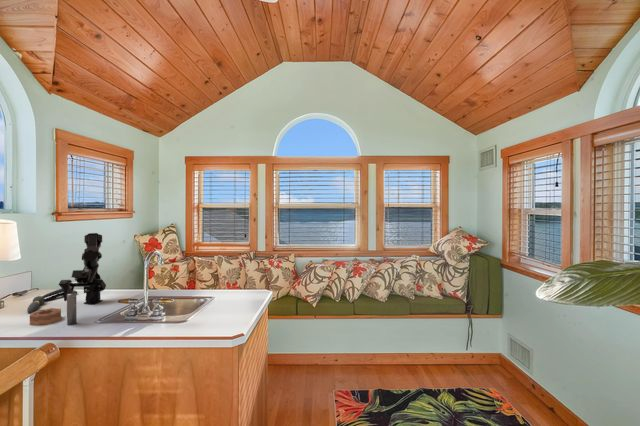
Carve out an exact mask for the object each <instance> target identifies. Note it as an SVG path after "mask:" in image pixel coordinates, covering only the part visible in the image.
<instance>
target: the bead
mask: <svg viewBox="0 0 640 426" xmlns="http://www.w3.org/2000/svg"><path fill="white" fill-rule="evenodd" d="M61 319H62V308H58V307H57V308H55V307H51V308H46V309H45V308H44V309H40V310H35V311H33V312H31V313H30V315H29V325H30V326H42V325H43V326H44V325H49V324H53V323H56V322H58V321H61Z"/></svg>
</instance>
